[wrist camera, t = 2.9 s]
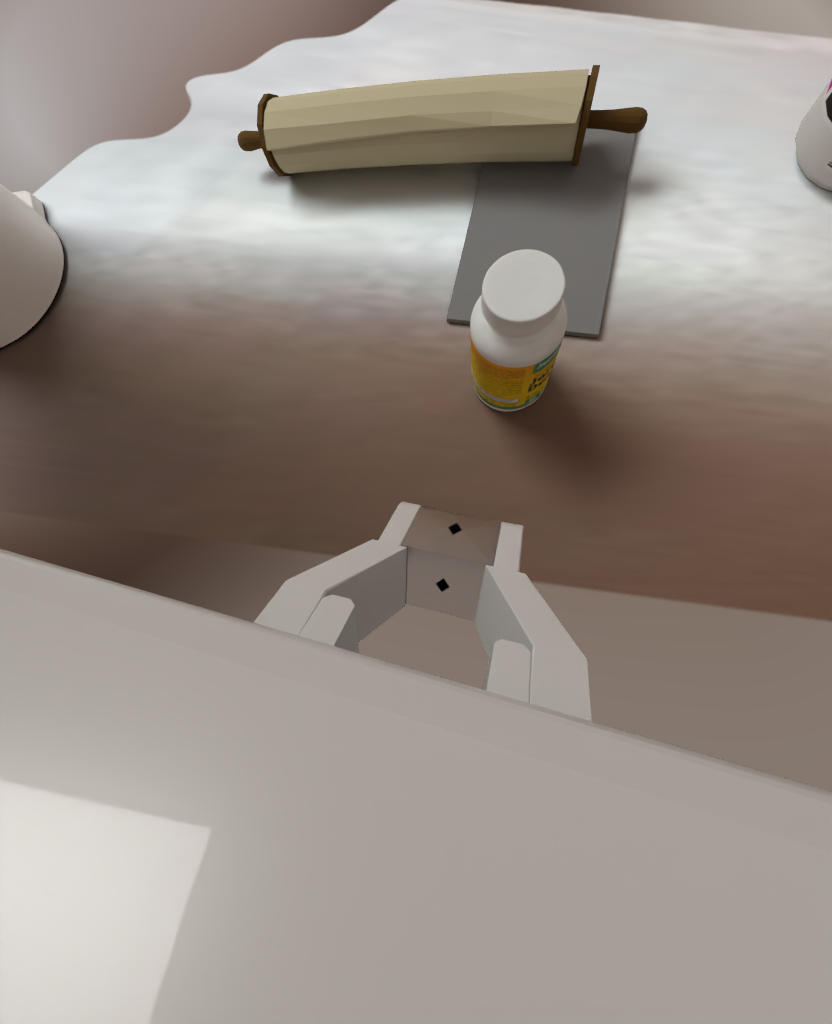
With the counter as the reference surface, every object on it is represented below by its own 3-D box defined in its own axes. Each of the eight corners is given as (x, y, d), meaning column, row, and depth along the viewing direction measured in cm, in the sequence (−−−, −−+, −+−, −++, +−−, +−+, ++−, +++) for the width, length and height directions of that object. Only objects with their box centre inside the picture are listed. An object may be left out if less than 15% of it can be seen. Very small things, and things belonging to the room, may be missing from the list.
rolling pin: (637, 126, 29) (668, 36, 24) (628, 191, 28) (657, 111, 23) (261, 143, 36) (225, 75, 31) (246, 195, 35) (207, 134, 30)
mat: (447, 321, 30) (446, 318, 29) (493, 124, 32) (493, 118, 31) (597, 337, 28) (598, 334, 27) (636, 125, 30) (638, 118, 29)
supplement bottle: (489, 336, 29) (493, 223, 20) (558, 358, 28) (598, 249, 18) (460, 400, 28) (451, 315, 19) (530, 424, 27) (556, 347, 18)
